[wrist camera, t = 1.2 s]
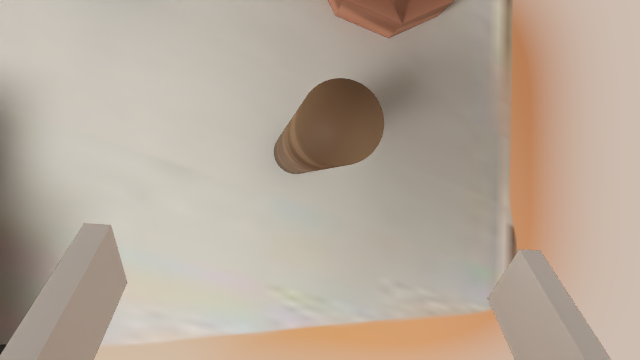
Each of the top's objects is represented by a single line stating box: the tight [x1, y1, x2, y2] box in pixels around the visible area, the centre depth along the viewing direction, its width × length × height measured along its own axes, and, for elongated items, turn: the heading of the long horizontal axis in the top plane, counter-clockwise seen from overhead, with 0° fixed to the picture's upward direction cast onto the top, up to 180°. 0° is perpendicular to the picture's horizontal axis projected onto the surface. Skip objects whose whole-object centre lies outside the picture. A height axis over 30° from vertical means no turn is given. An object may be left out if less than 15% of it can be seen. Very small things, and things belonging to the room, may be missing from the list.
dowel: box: [274, 78, 384, 174], centre depth 24 cm, size 4×4×16 cm
